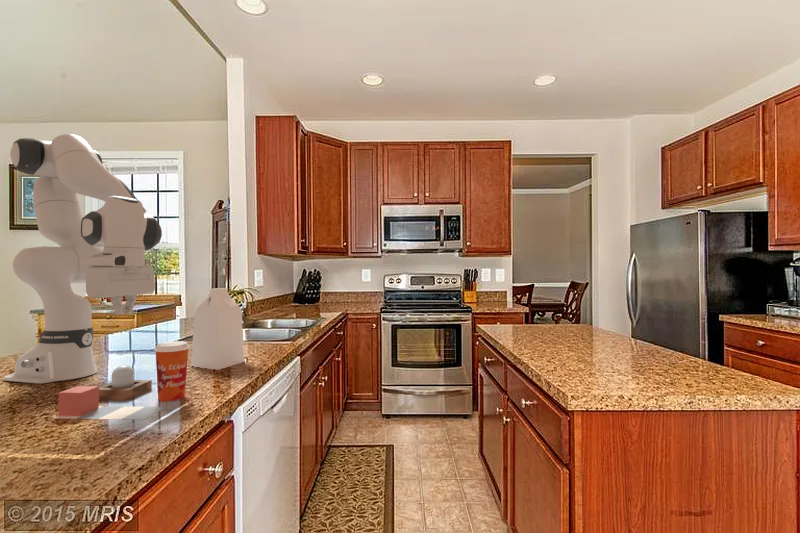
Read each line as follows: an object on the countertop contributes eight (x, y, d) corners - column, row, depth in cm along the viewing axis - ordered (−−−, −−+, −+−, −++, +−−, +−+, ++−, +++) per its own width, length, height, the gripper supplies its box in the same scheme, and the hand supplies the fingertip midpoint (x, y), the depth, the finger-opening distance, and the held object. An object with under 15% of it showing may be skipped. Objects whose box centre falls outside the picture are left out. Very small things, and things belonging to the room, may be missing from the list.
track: (52, 420, 87) (52, 418, 87) (82, 408, 95) (82, 405, 95) (143, 422, 86) (143, 419, 86) (166, 409, 94) (166, 407, 94)
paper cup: (152, 406, 96) (153, 347, 96) (154, 397, 103) (155, 342, 103) (189, 402, 100) (190, 344, 100) (189, 393, 107) (190, 340, 107)
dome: (106, 393, 102) (107, 367, 102) (120, 387, 106) (120, 363, 106) (125, 393, 101) (125, 367, 101) (138, 388, 106) (138, 363, 106)
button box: (91, 401, 100) (91, 389, 100) (118, 391, 109) (118, 379, 109) (127, 402, 99) (127, 390, 99) (151, 391, 108) (151, 380, 108)
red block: (58, 415, 88) (58, 392, 89) (77, 407, 93) (77, 386, 94) (80, 416, 88) (81, 392, 88) (98, 408, 93) (98, 386, 93)
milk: (217, 359, 147) (218, 287, 147) (243, 362, 143) (244, 288, 144) (190, 366, 136) (191, 288, 136) (217, 369, 132) (218, 289, 132)
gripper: (139, 260, 115) (139, 309, 115) (80, 258, 94) (79, 318, 94) (161, 260, 114) (161, 309, 114) (106, 258, 94) (105, 318, 94)
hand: (123, 313), depth 104 cm, fingers closed
